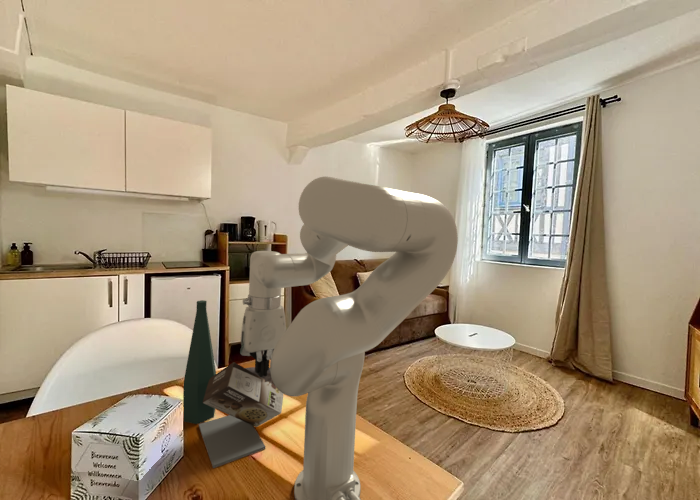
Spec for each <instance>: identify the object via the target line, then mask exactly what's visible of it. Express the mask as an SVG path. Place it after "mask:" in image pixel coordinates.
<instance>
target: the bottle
mask: <svg viewBox="0 0 700 500" xmlns="http://www.w3.org/2000/svg"><path fill="white" fill-rule="evenodd" d="M195 311H196V312H195V318H194V323H193V329H192V333H191V339H190V344H189V351H188V356H187V362H186V367H185V372H184V376H183V377H184V378H183V379H184V380H183V400H182V402H183V403H182V406H183V407H184V422H185V423H189V424H194V425H199V424H201V423H204V422H207V421H210V420H212V419H214V418H215V414H216V409H215V408H213V407H211V406H209V405H206V404H204V403H202V402H203V399H204V396H205V392H206V388H207V385H208V382H209V379H210V378H211V377H213V376H214V375H216V374H217V371H216V364H215V357H214V351H213V344H212V339H211V332H210V331H211V330H210V325H209V320H208V319H209V316H208V312H207V300H197V301H196V310H195ZM183 407H182V408H183Z"/></svg>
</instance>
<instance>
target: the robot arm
mask: <svg viewBox="0 0 700 500" xmlns="http://www.w3.org/2000/svg"><path fill="white" fill-rule="evenodd" d="M298 214H299V218H300V221H302V224H303V225H301V229H300V231H299V239H300V243H301V245H302V247H303V249H304V250H305V251H306V252H305V253H280V252H278V251H274V250H273V251H272V250H257V251H253V252H252V253H251V255H250V260H249V280H248V281H249V282H248V283H249V285H248V286H249V287H248V295H247V297H246V298H243V299H242V305H246V307H245V310H244V313H243V316H242V317H243V318H242V323H241V324H242V325H241V332H240V345H241V348H240V351H239V354H240V355H241V356H244V357H245V356H247V357H250V356H251V357H252V358H253V359H254V360H255V361H254V367H255V372H256V373H257V374H258V375H259V376H260V377H263V376H267V371H268V370H269V368H270V372H271V377H272V380H273V383H274V384H275V386H276V387H277V389H278V390H279V391H280V392H282V393H283V395H286V396H288V397H301V396H303V395H306V394H307V396H306V401H305V414H304V416H305V418H304V419H305V420H304V444H303V447H304V448H303V468H302V470H301V471H300V472H299V474H298V475H297V476H296V478H295V481H294V486H293V487H294V489H293V490H294V491H293V493H294V494H293V495H294V500H362V499H361V498H360V497H361V487H362V486H361V481H360V478H359V476H358V474H357V473H356V472H355V471H354V466H355V465H354V464H355V463H354V462H355V461H354V460H355V446H356V445H355V444H356V443H355V440H356V422H357V410H358V409H357V404H358V395H359V393H358V392H359V387H360V386H359V384H360V380H361V377H362V372H363V369H364V365H365V364H364V363H365V357H366V353H365V352H368V351H370V350H372V349H374V348H375V347H377V346H379V344H381V342H383V341H384V340H385V339H386V338H387V337H388V336H389V335H390V334H391V333H392V332H393V331H394V330H395V329H396V328H397V327H398V326H399V325H400V324H401V323H402V322H403V321H404V320H405V319H406V318H407V317H408V316H409V315H410V314H411V313H412V312H414V310H415V309H416V308H417V307H418V306H419V305H420V304H421V303H422V302H423V301H425V299H427V298H428V296H430V295H431V294H432V292H434V291H435V289H436V288H437V287H439V285H440V284H441V283H442V281H443V280H444V279H445V278H446V277H447V275H448V273H449V271H450V269H451V268H452V267H453V263H454V262H455V258H456V255H457V250H458V229H457V225H456V222H455V221H456V220H455V219H454V216H453V215H452V213H451V211H450V209H449V208H448V207H446V205H445V204H443V203H442V202H440V201H439V200H437V199H435V198H433V197H431V196H428V195H426V194H422V193H416V192H413V191H411V192H410V191H406V190H401V189H395V188H391V187H387V186H380V185H375V184H368V183H361V182H357V181H354V180H353V181H352V180H347V179H342V178H338V177H337V178H336V177H333V176H332V177H331V176H319V177H317V178H314V179H313V180H311V181H310V182H309V183H308V184H306V186H305V187H304V189H303V190H302V192H301V195H300V197H299V200H298ZM348 246H350V247H352V248H354V249H358V250H360V251H366V252H370V253H371V252H372V253H393V254H392V255H391V256H390V257H389V258H387V259H386V260H384V261H383V262H382V263H380V264H379V265H378V266H377V267H376V268H375V269H373V271H372V272H371V273H370V274H369V276H368V277H367V278H366V279H365V280H364V282H363V283H362V284H361V285H359V287H358V288H357V289H355V290H353V291H352V292H347V293H344V294H339V295H334V296H333V295H332V296H327V297H322V298H318V299H316V300H313V301H312V302H310V303H308V304H307V305H305V306H304V307H303V308H301V309H300V311H299V312H298V313H297V315H296V316H295V317H294V319H293V320H292V321H291V323H290V324H289V326H288V327H287V326H286V325H287V324H286V313H285V307H284V306H283V305H281V302H282V301H281V300H282V297H281V296H282V289H283V288H284V289H285V288H290V287H299V286H309V285H312V284H314V283H316V282H318V281H320V280H321V279H323V278H324V277H325V276H326V275H328V274H329V273H330V272H332V270H333V268H334V266H335V263H336V261H337V260H336V259H337V254H339V253H340V252H341V251H343V250H345V248H347V247H348ZM394 252H395V253H394Z"/></svg>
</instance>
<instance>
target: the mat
mask: <svg viewBox="0 0 700 500" xmlns="http://www.w3.org/2000/svg"><path fill="white" fill-rule="evenodd" d="M198 428H199V431H200V433H201V434H200V435H201V436H202V440H203V442H204V445H205V448H206V451H207V454H208V458H209V460H210V462H211V467H212V468H213V469H216V468H217V467H221V466H224V465H226V464H229V463H231V462H234V461H237V460H240V459H242V458H245V457H247V456H251V455H253V454H255V453H258V452H261V451H263V450H266V447H267V446H266V444H265V442H263V440H262V437H260V435H259V433H258V431H257V430H256V427H255V426H253V425H251V424H248V423H246V422H244V421H242V420H240V419H237V418H235V417H233V416H231V415H229V414H227V415H226V416H222V417H218V418H215V419H210V420H207V421H204V422H202V423H199V424H198Z"/></svg>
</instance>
